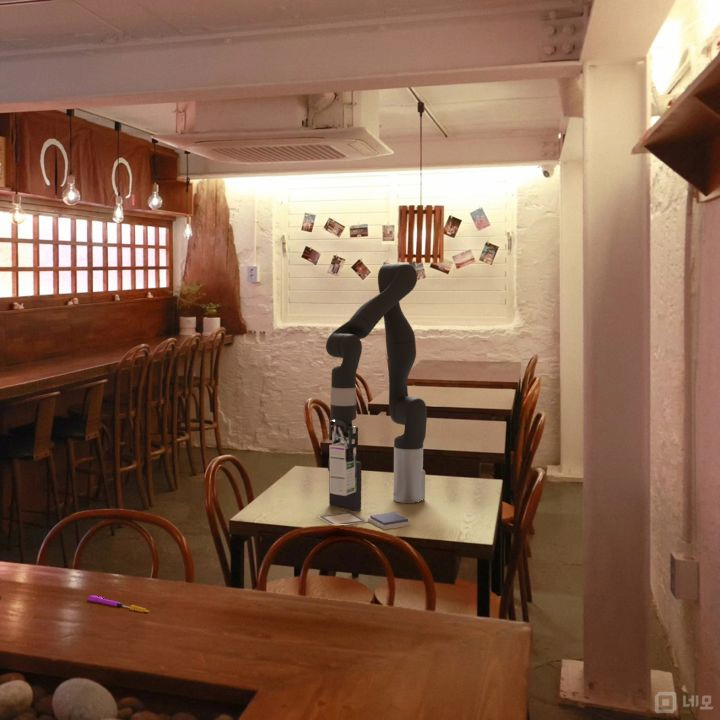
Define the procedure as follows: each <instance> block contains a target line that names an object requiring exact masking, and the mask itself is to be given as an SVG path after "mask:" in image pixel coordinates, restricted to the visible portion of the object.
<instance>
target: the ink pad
mask: <svg viewBox="0 0 720 720" xmlns="http://www.w3.org/2000/svg"><path fill="white" fill-rule="evenodd" d="M367 522H369V523H371V524H372V525H374V524H375V526H377V527H378V528H380V529H382V530H387V529H388V530H389V529H395V528H401V527H407V526H411V525H412V524H411V523H412V522H411V521H410V520H409V518H407V517H405V516H403V515H401V514H399V513H397V512H395V511H392V512H386V513H385V512H384V513H378V514H377V513H376V514H373V515H371V514H370V517H369V516H368V517H367Z"/></svg>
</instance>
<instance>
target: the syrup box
mask: <svg viewBox="0 0 720 720" xmlns="http://www.w3.org/2000/svg"><path fill="white" fill-rule="evenodd" d="M345 454H346V447H345V443H344V442H343V441H341V442H339V443H335V444H333V443H332V444H329V458H330V493H332V494H337V495H343V496H347V495H348V494H351V493H354V492H356V461H357V447H355V448H354V449H353V461H352V462H347V461H346V460H345V456H346V455H345Z"/></svg>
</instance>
